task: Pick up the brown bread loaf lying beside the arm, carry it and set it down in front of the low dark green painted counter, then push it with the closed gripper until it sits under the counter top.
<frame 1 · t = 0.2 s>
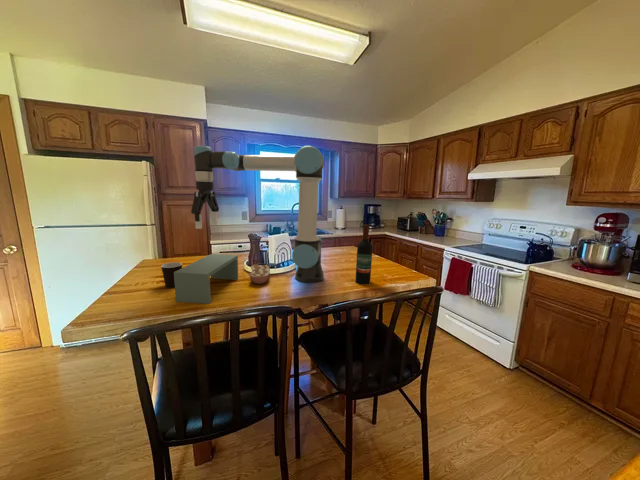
hand: (206, 226, 130), 27 cm above the table, tool pointing down, fingers open, 13 cm apart
brown bread loaf: (260, 279, 141), on the table
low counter: (210, 288, 125), on the table
wine bottle: (362, 282, 140), on the table
coffee mug: (175, 284, 129), on the table
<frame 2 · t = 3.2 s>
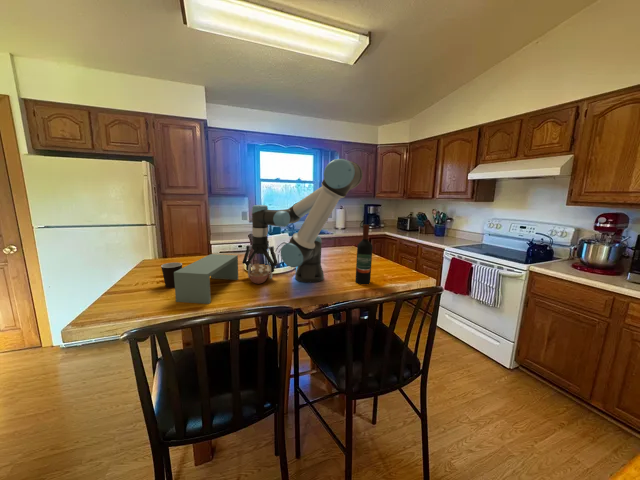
hand: (260, 277, 141), 1 cm above the table, tool pointing down, fingers closed on brown bread loaf, 11 cm apart
brown bread loaf: (260, 278, 141), on the table, touching gripper
everything else where it was.
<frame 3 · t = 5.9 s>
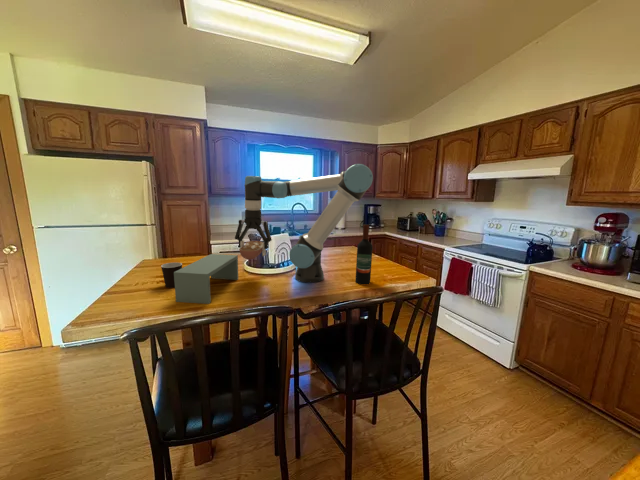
hand: (253, 254, 132), 14 cm above the table, tool pointing down, fingers closed on brown bread loaf, 10 cm apart
brown bread loaf: (253, 255, 132), point 14 cm above the table, touching gripper
everything else where it was.
when the fingers open (7 cm above the table, at t = 8.3 s): brown bread loaf drops 7 cm, on the table.
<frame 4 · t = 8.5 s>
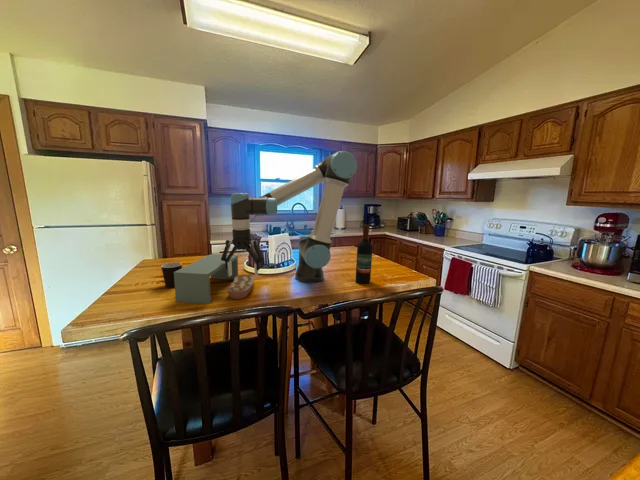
hand: (243, 276, 122), 7 cm above the table, tool pointing down, fingers open, 12 cm apart
brown bread loaf: (242, 293, 124), on the table
everything else where it was.
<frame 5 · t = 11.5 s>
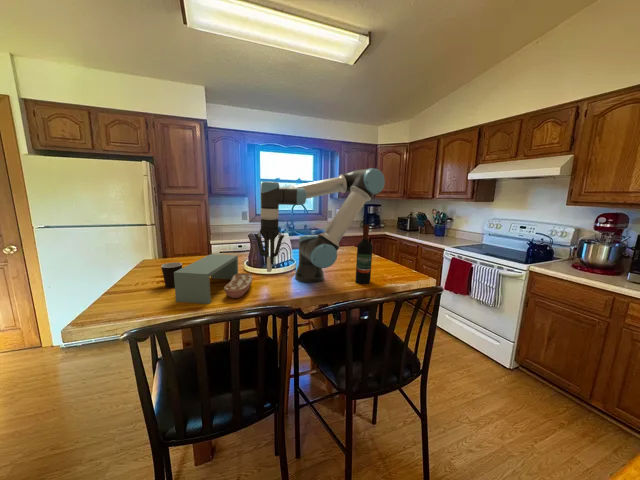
hand: (269, 271, 120), 10 cm above the table, tool pointing down, fingers closed
brown bread loaf: (240, 291, 123), on the table
everything else where it was.
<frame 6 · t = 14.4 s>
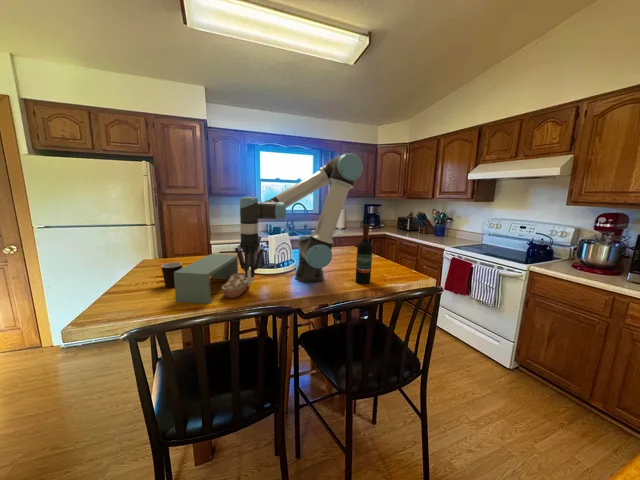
hand: (250, 283, 122), 4 cm above the table, tool pointing down, fingers closed
brown bread loaf: (238, 291, 123), on the table, touching gripper
everything else where it was.
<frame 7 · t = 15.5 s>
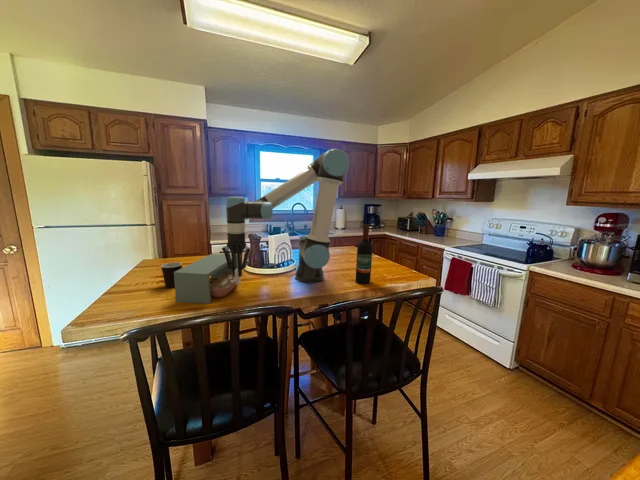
hand: (237, 283, 123), 4 cm above the table, tool pointing down, fingers closed
brown bread loaf: (225, 291, 124), on the table, touching gripper
everything else where it was.
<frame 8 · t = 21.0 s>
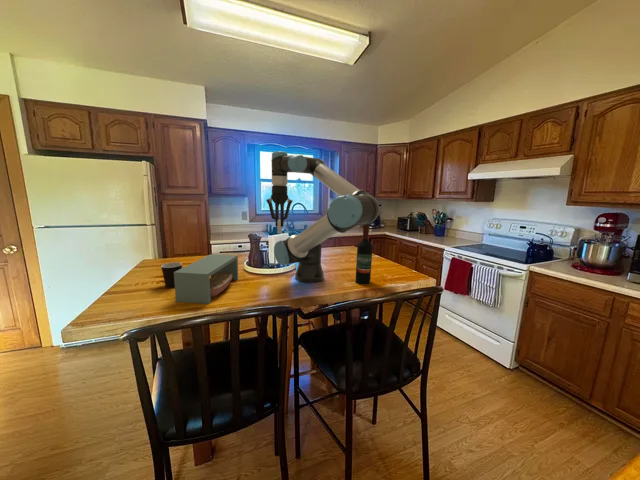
hand: (279, 233, 135), 24 cm above the table, tool pointing down, fingers closed
brown bread loaf: (218, 291, 123), on the table
everything else where it was.
at the end: brown bread loaf inside the target area (4.0 cm from its centre), on the table; brown bread loaf tilted 0°; the gripper is holding nothing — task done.
